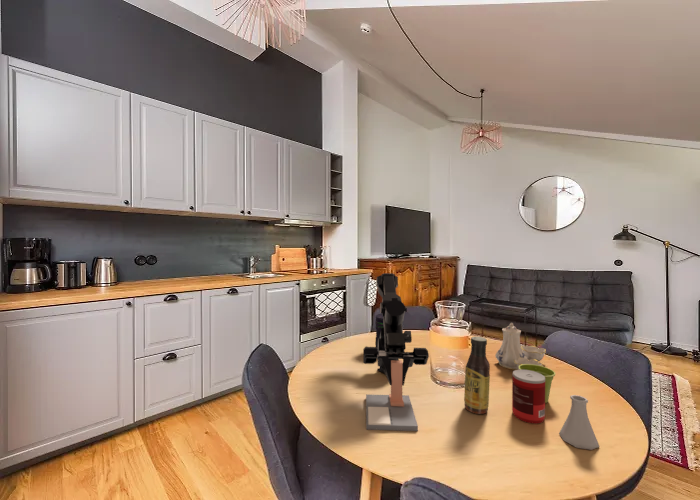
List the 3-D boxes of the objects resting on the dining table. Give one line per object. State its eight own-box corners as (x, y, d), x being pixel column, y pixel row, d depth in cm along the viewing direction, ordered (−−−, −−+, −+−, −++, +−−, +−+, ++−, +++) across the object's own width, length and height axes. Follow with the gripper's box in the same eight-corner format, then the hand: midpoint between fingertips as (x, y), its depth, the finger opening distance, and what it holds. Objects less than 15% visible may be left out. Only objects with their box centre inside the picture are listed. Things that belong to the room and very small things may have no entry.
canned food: (541, 411, 88) (541, 371, 87) (548, 426, 80) (549, 383, 80) (510, 406, 90) (510, 367, 90) (514, 421, 82) (514, 378, 82)
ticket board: (417, 430, 78) (417, 424, 78) (366, 429, 79) (366, 422, 78) (408, 399, 94) (408, 394, 94) (366, 398, 94) (366, 393, 94)
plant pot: (524, 388, 101) (524, 361, 101) (558, 399, 95) (559, 369, 94) (513, 398, 95) (513, 369, 95) (550, 410, 88) (550, 379, 88)
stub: (404, 406, 87) (404, 365, 87) (390, 406, 87) (391, 365, 87) (401, 396, 93) (401, 358, 93) (389, 395, 93) (389, 357, 93)
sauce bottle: (459, 406, 90) (459, 336, 90) (476, 402, 92) (476, 333, 92) (477, 418, 84) (477, 342, 84) (494, 413, 86) (495, 339, 86)
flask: (552, 432, 78) (553, 391, 78) (581, 431, 78) (581, 390, 78) (575, 451, 70) (576, 406, 70) (606, 450, 71) (607, 405, 71)
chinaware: (545, 390, 104) (552, 340, 103) (490, 375, 112) (495, 328, 111) (543, 363, 128) (549, 322, 127) (497, 352, 136) (502, 313, 135)
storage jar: (399, 354, 133) (400, 318, 132) (376, 354, 133) (376, 318, 133) (396, 347, 143) (396, 313, 142) (374, 347, 143) (374, 313, 143)
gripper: (363, 319, 94) (363, 371, 83) (427, 320, 93) (435, 373, 82) (363, 338, 102) (363, 388, 91) (422, 339, 101) (429, 390, 90)
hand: (397, 384), depth 89 cm, fingers closed on stub, 3 cm apart
